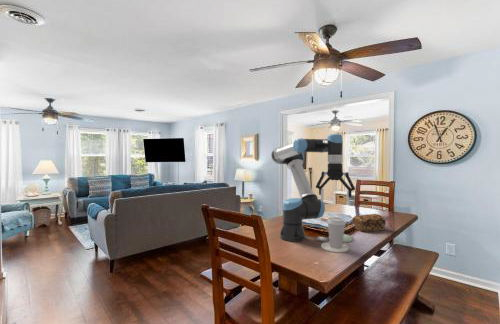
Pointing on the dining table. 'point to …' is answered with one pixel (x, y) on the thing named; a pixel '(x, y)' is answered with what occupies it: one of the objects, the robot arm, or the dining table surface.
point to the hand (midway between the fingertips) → (334, 202)
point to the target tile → (322, 239)
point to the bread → (369, 223)
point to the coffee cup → (336, 231)
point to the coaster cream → (327, 247)
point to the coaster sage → (347, 238)
